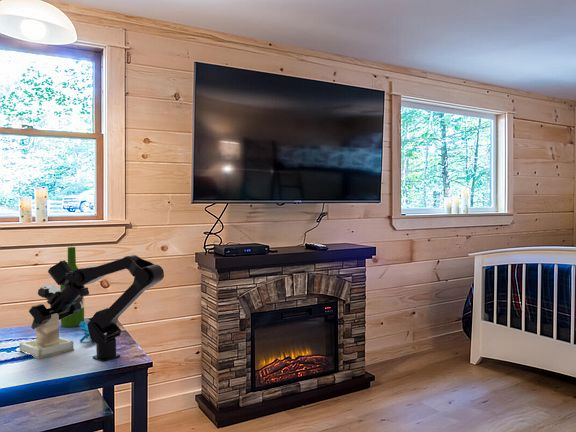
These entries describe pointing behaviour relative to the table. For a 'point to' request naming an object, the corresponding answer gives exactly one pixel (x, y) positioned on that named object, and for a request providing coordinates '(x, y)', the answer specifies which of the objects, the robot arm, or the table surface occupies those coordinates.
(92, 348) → the table surface
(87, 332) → the gear
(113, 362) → the table surface
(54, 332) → the maple block
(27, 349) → the sage tray
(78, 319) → the wine bottle
